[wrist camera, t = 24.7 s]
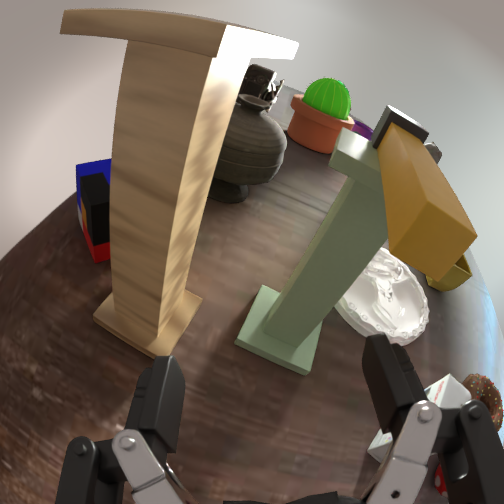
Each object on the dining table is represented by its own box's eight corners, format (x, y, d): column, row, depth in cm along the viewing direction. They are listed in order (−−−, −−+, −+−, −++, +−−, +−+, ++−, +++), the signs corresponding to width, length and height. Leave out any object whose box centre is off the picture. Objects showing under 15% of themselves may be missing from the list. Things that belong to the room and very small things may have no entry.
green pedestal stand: (304, 376, 35) (450, 221, 18) (233, 343, 36) (335, 152, 19) (319, 319, 43) (427, 173, 26) (258, 290, 43) (343, 124, 26)
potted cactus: (281, 142, 88) (310, 70, 72) (279, 121, 105) (302, 62, 88) (343, 165, 92) (377, 100, 76) (332, 140, 108) (358, 86, 92)
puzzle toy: (78, 219, 42) (75, 164, 35) (133, 206, 48) (138, 154, 41) (95, 263, 37) (90, 205, 31) (157, 245, 43) (165, 190, 37)
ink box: (391, 406, 35) (450, 369, 27) (411, 424, 33) (472, 391, 26) (364, 451, 29) (432, 424, 21) (388, 470, 28) (457, 446, 20)
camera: (285, 77, 93) (240, 58, 92) (264, 118, 104) (222, 99, 103) (290, 76, 114) (254, 61, 112) (274, 110, 124) (238, 94, 123)
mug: (337, 141, 111) (347, 120, 104) (343, 136, 119) (352, 117, 112) (375, 163, 108) (386, 142, 101) (377, 157, 116) (388, 138, 110)
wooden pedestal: (155, 378, 30) (227, 24, 8) (83, 332, 30) (63, 9, 9) (207, 295, 40) (298, 43, 19) (145, 261, 41) (191, 14, 20)
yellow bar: (445, 287, 12) (498, 224, 9) (379, 248, 12) (431, 173, 9) (403, 155, 27) (421, 124, 24) (370, 136, 27) (387, 104, 24)
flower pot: (448, 301, 58) (473, 275, 52) (423, 289, 58) (449, 261, 52) (441, 275, 64) (462, 250, 59) (416, 263, 64) (438, 236, 58)
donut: (488, 397, 40) (506, 385, 37) (485, 454, 30) (506, 445, 27) (449, 370, 43) (468, 357, 39) (442, 434, 33) (465, 423, 29)
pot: (271, 177, 68) (301, 100, 53) (262, 228, 56) (301, 134, 41) (196, 155, 66) (214, 74, 52) (169, 201, 54) (184, 100, 39)
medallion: (331, 339, 41) (339, 330, 39) (311, 222, 61) (316, 213, 59) (435, 350, 45) (443, 343, 44) (398, 250, 65) (403, 243, 64)
